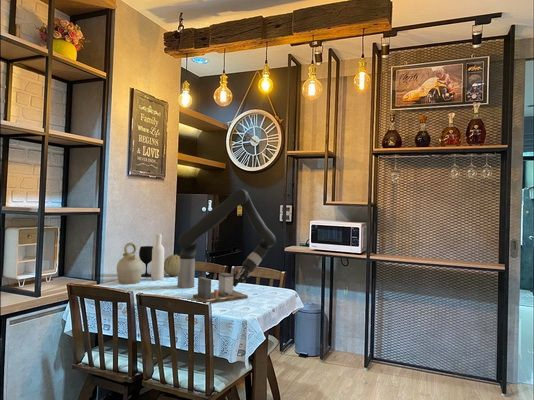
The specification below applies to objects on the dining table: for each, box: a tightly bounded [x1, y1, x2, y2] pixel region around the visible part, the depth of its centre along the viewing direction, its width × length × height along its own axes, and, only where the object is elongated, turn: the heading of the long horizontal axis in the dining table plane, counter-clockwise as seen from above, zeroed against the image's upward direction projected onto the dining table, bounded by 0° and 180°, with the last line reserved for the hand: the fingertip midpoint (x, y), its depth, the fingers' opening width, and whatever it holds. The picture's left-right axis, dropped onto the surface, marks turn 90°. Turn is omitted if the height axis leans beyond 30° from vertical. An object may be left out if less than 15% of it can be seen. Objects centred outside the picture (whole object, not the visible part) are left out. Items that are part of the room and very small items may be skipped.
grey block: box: [217, 272, 235, 296], centre depth 217 cm, size 5×10×11 cm, turn 37°
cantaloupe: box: [164, 253, 180, 277], centre depth 277 cm, size 15×15×15 cm
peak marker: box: [213, 289, 218, 298], centre depth 209 cm, size 1×2×4 cm, turn 37°
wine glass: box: [138, 245, 154, 278], centre depth 274 cm, size 10×10×20 cm
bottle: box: [150, 233, 165, 281], centre depth 263 cm, size 8×8×30 cm
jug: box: [116, 242, 144, 285], centre depth 250 cm, size 15×16×25 cm
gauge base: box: [192, 289, 249, 304], centre depth 216 cm, size 25×16×2 cm, turn 127°
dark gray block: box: [197, 276, 212, 299], centre depth 210 cm, size 3×9×10 cm, turn 37°
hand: (233, 285), depth 221 cm, fingers closed
